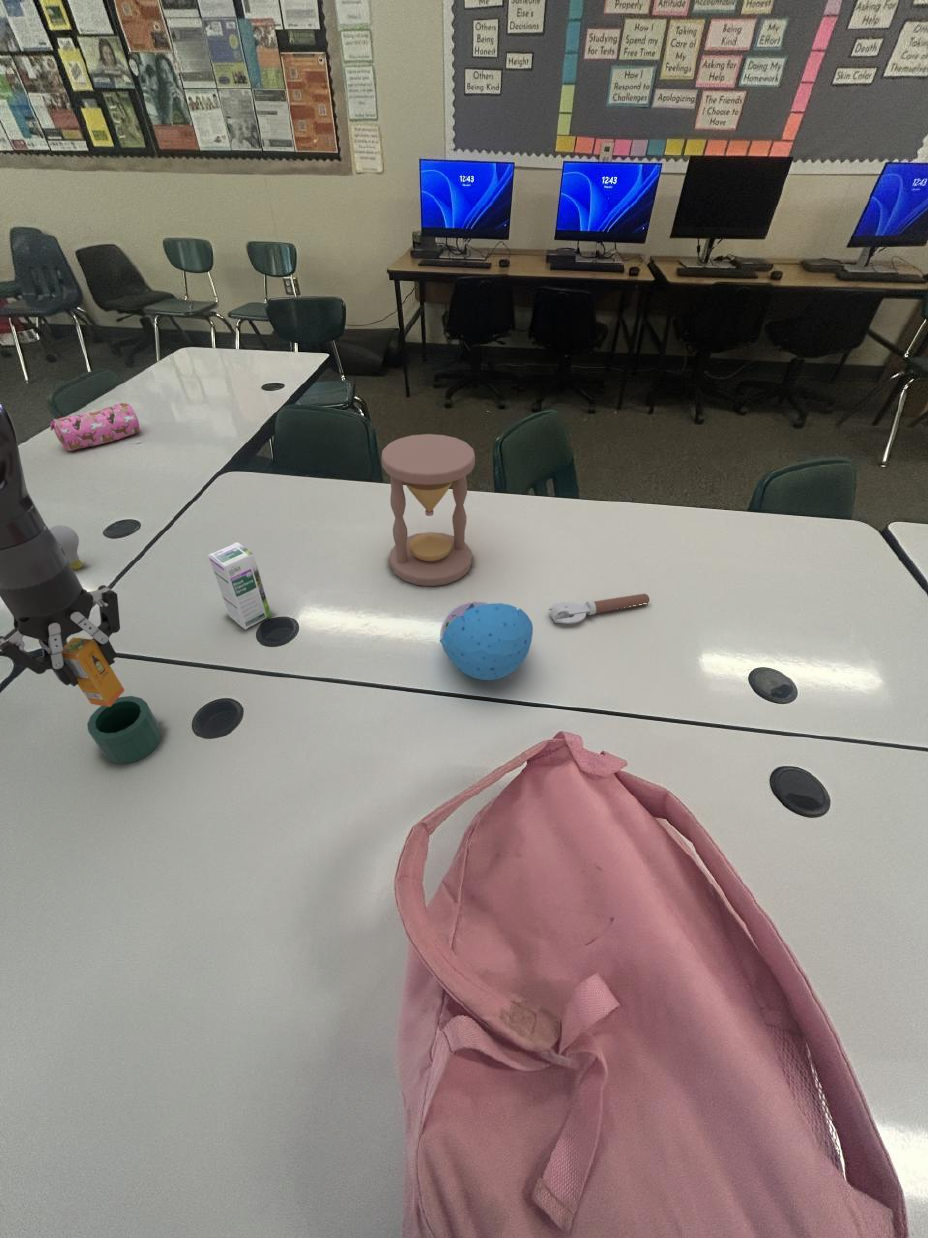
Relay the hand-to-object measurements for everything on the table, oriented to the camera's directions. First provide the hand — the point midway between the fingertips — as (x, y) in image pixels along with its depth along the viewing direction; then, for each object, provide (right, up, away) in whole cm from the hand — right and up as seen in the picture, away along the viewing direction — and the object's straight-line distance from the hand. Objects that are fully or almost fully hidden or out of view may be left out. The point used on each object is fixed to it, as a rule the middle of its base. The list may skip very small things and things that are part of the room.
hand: (91, 671), depth 75 cm
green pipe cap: (0, -12, +10) cm, 15 cm away
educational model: (+53, -1, +24) cm, 58 cm away
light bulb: (-31, +17, +43) cm, 56 cm away
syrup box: (+9, +7, +32) cm, 34 cm away
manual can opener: (+76, +8, +35) cm, 84 cm away
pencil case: (-57, +59, +91) cm, 122 cm away
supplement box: (0, -4, +4) cm, 5 cm away
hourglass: (+43, +19, +47) cm, 66 cm away
